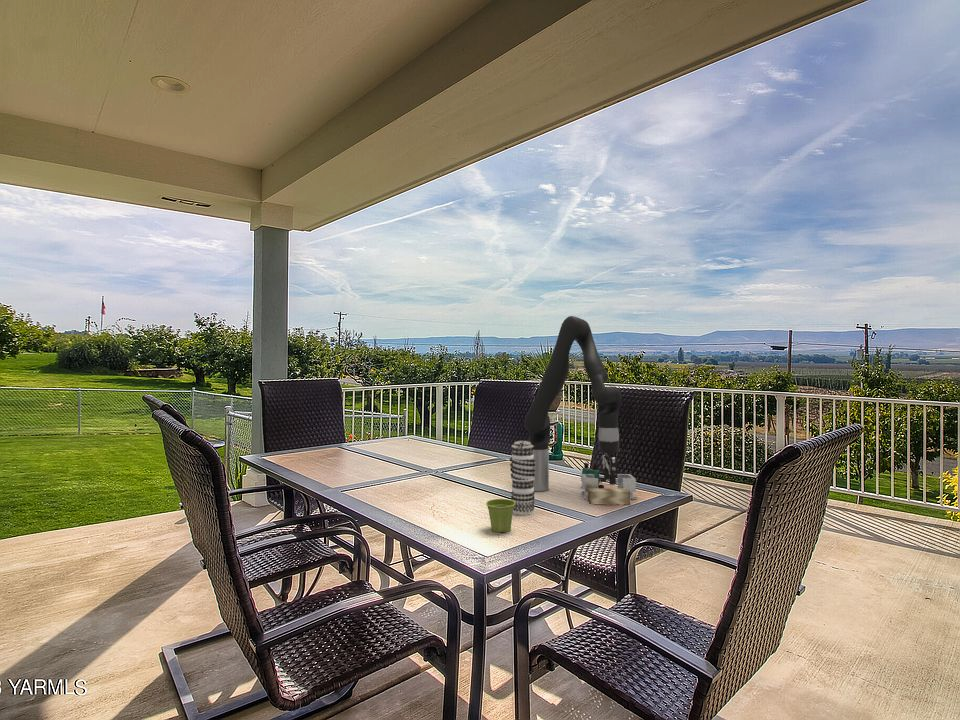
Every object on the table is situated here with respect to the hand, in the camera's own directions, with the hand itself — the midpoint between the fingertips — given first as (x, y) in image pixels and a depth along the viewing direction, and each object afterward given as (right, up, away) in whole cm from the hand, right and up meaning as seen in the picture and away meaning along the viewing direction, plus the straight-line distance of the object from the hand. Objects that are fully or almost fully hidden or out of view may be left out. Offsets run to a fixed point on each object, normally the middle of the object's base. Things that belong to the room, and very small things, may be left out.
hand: (609, 481), depth 188 cm
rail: (-1, -8, 0) cm, 8 cm away
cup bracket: (+2, -8, +9) cm, 12 cm away
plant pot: (-43, -8, -30) cm, 53 cm away
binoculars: (-1, -9, +24) cm, 25 cm away
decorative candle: (-34, -8, -10) cm, 36 cm away
